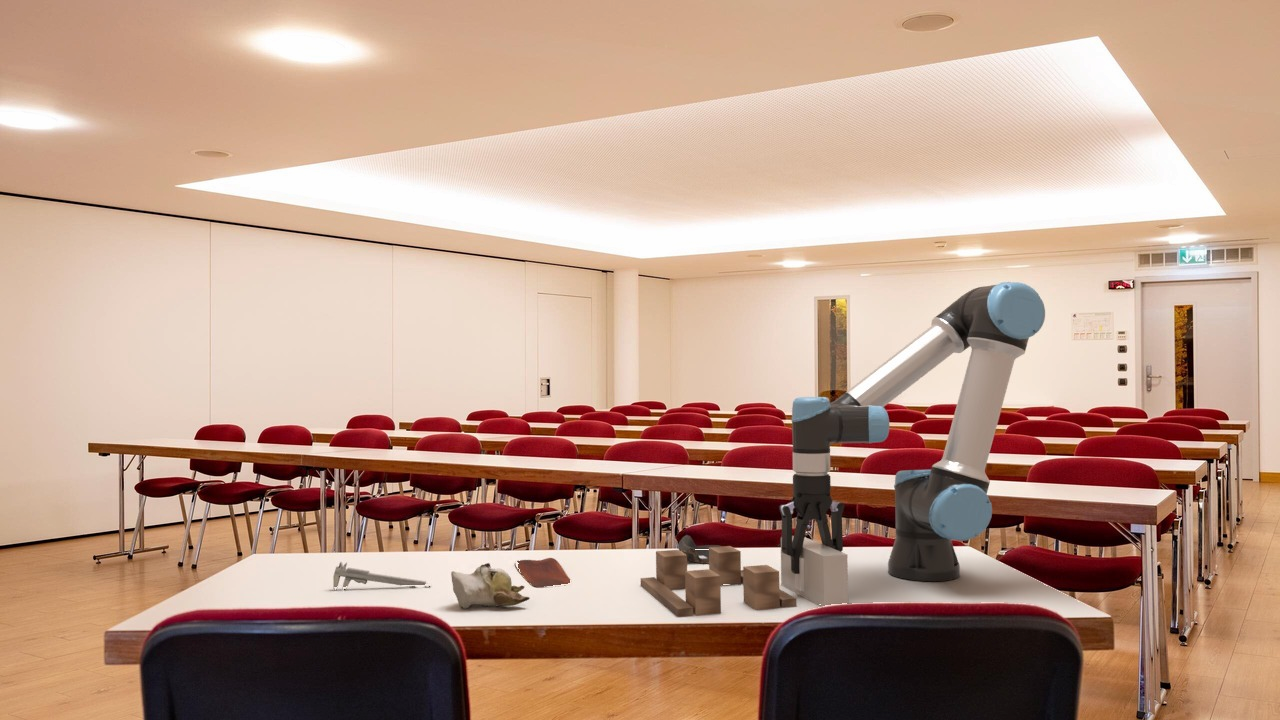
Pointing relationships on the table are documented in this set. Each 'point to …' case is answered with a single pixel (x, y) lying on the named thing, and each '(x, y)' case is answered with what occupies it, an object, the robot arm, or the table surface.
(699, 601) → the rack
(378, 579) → the caliper
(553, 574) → the wooden tablet
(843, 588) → the light grey rectangular block
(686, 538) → the pottery fragment
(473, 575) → the ceramic sculpture
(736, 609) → the table surface
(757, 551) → the table surface
